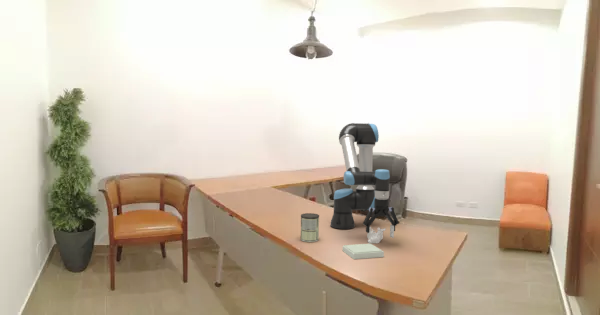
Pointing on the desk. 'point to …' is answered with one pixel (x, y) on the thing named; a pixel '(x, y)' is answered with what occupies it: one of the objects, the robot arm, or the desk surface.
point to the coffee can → (309, 227)
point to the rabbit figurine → (376, 236)
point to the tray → (363, 251)
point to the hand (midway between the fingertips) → (380, 237)
